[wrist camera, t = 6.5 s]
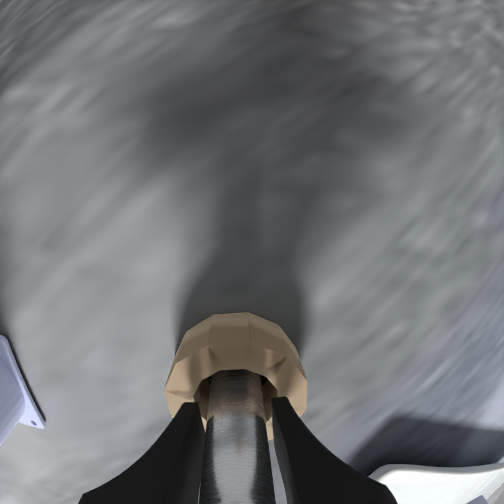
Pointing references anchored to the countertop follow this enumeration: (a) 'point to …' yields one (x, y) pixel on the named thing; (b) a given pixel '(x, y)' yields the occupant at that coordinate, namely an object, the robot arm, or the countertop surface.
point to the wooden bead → (236, 362)
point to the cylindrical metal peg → (236, 442)
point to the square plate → (439, 482)
